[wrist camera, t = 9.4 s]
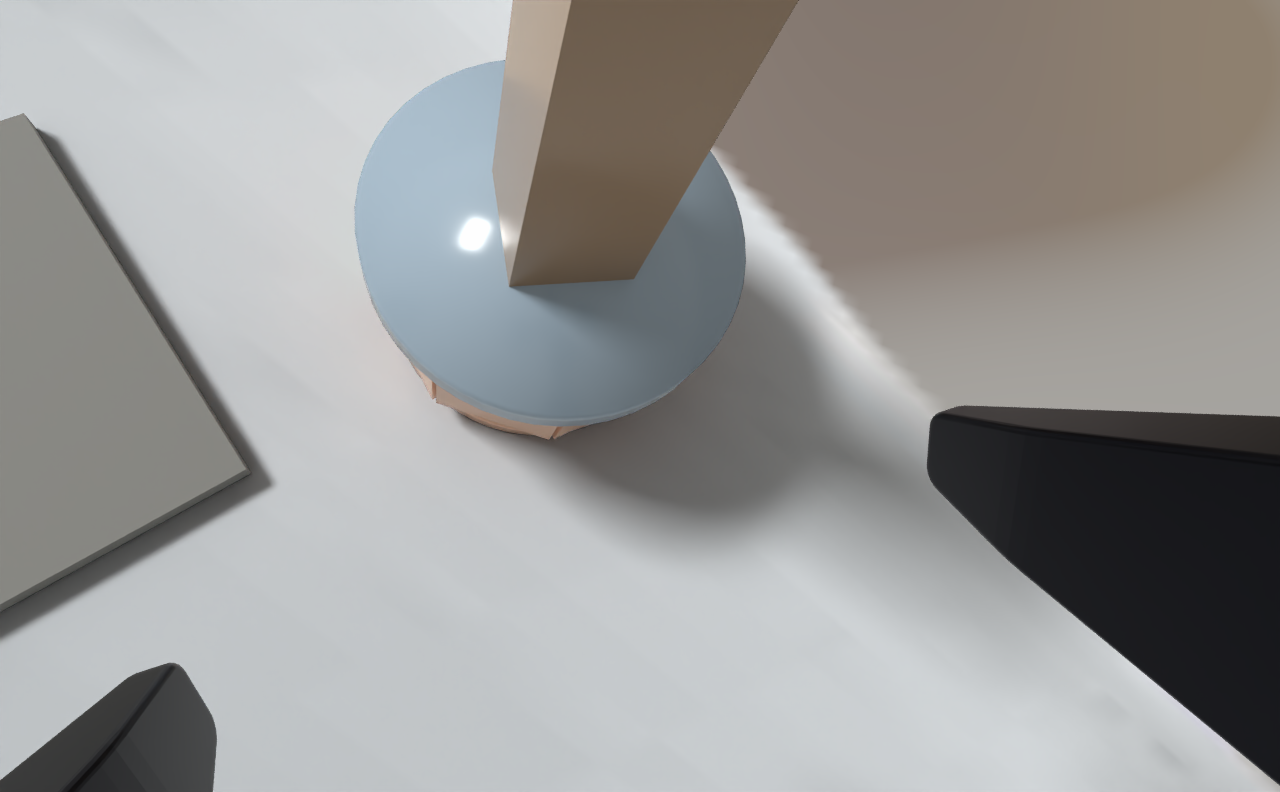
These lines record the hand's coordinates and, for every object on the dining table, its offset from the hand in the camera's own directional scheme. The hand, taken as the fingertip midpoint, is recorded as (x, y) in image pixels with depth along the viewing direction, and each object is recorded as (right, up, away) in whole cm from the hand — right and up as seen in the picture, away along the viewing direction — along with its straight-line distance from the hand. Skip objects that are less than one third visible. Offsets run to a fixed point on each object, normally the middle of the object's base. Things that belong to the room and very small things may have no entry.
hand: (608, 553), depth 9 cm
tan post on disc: (-2, +6, +11) cm, 13 cm away
